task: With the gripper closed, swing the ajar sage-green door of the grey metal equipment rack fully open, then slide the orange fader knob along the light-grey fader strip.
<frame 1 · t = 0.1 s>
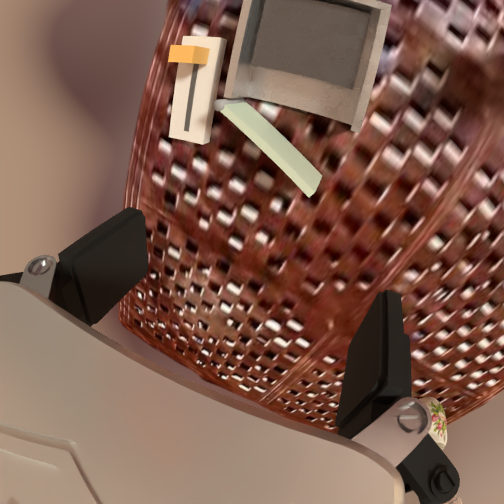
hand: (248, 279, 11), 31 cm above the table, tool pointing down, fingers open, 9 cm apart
fader panel: (199, 88, 37), on the table
rack: (313, 53, 30), on the table
fader knob: (189, 54, 31), point 4 cm above the table, slide at 0.0 cm
rack door: (271, 141, 34), point 4 cm above the table, hinge at 30.0°
pitcher: (426, 404, 54), on the table
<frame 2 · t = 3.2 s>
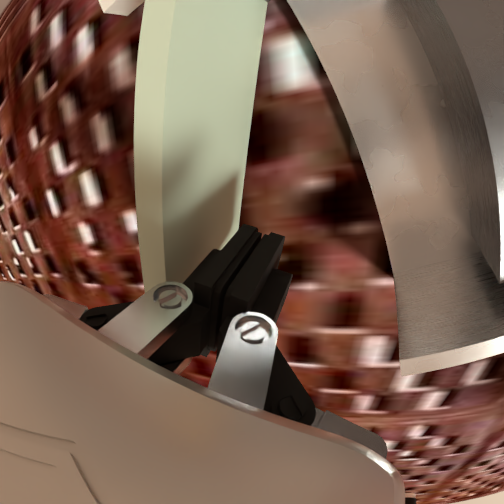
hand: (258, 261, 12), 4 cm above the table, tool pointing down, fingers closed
rack: (500, 98, 8), on the table
dixie cup: (403, 494, 32), on the table
rack door: (204, 143, 10), point 4 cm above the table, hinge at 32.8°, touching gripper
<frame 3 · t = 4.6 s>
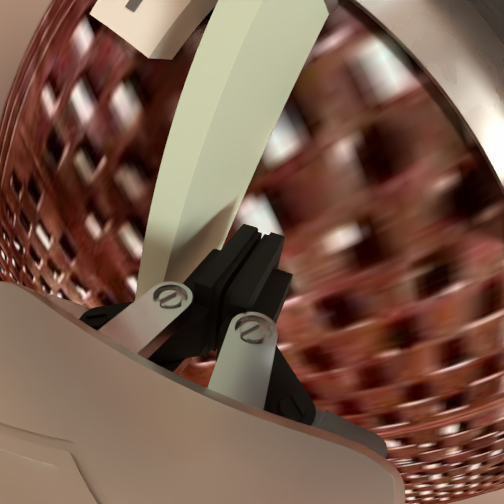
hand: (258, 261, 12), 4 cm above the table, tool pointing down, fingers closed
rack door: (228, 146, 10), point 4 cm above the table, hinge at 70.7°, touching gripper
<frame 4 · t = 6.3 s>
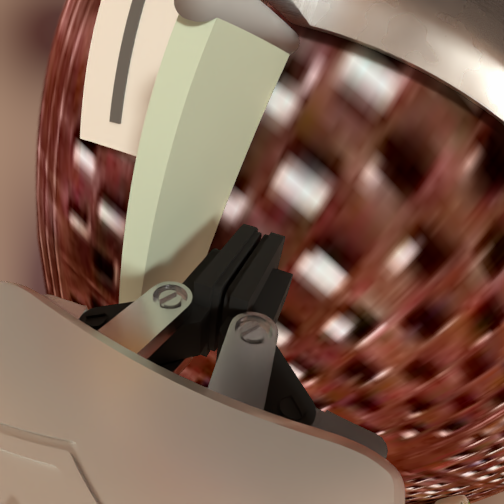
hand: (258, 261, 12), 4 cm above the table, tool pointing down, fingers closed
fader panel: (162, 9, 11), on the table
rack door: (190, 200, 11), point 4 cm above the table, hinge at 96.8°
pitcher: (452, 498, 30), on the table
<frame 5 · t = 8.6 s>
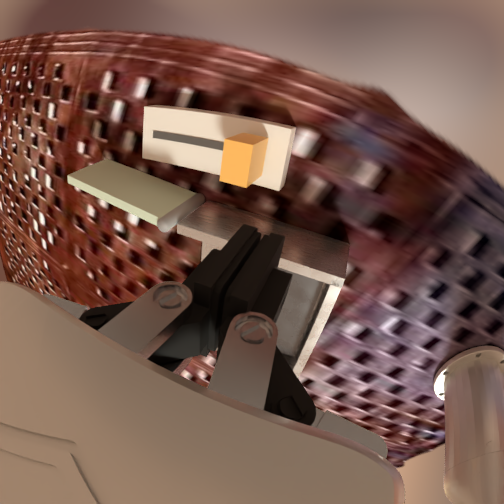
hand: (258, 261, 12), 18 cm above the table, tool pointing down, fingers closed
fader panel: (215, 139, 29), on the table
rack: (263, 279, 35), on the table
fader knob: (244, 158, 24), point 4 cm above the table, slide at 0.0 cm
rack door: (131, 188, 30), point 4 cm above the table, hinge at 96.8°
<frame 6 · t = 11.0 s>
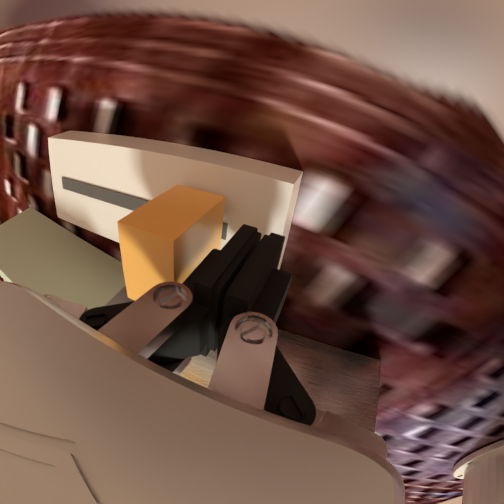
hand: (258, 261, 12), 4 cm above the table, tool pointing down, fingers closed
fader panel: (155, 190, 16), on the table
rack: (248, 385, 23), on the table
fader knob: (175, 247, 12), point 4 cm above the table, slide at 0.8 cm, touching gripper
rack door: (47, 264, 18), point 4 cm above the table, hinge at 96.8°
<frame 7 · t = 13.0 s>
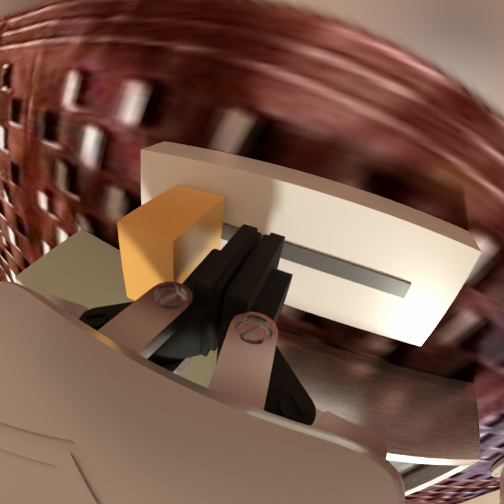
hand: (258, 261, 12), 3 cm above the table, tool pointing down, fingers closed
fader panel: (301, 232, 14), on the table
rack: (342, 414, 21), on the table
fader knob: (174, 247, 12), point 4 cm above the table, slide at 9.4 cm, touching gripper
rack door: (129, 310, 16), point 4 cm above the table, hinge at 96.8°
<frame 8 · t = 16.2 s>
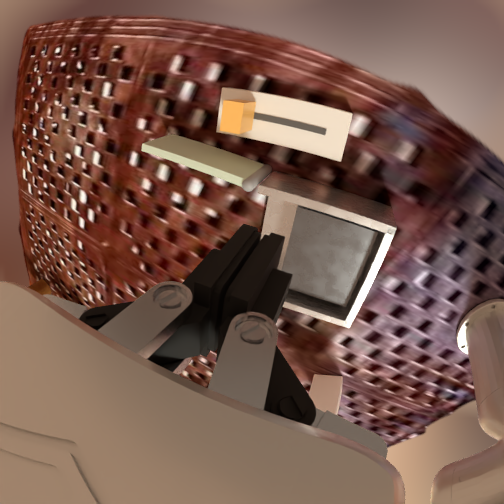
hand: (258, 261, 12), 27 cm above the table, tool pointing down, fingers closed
fader panel: (284, 119, 34), on the table
rack: (318, 240, 40), on the table
milk: (328, 382, 55), on the table
fader knob: (238, 115, 31), point 4 cm above the table, slide at 9.4 cm
rack door: (206, 157, 35), point 4 cm above the table, hinge at 96.8°
disposable coffee cup: (46, 286, 82), on the table
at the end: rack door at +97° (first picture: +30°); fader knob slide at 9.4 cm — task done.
